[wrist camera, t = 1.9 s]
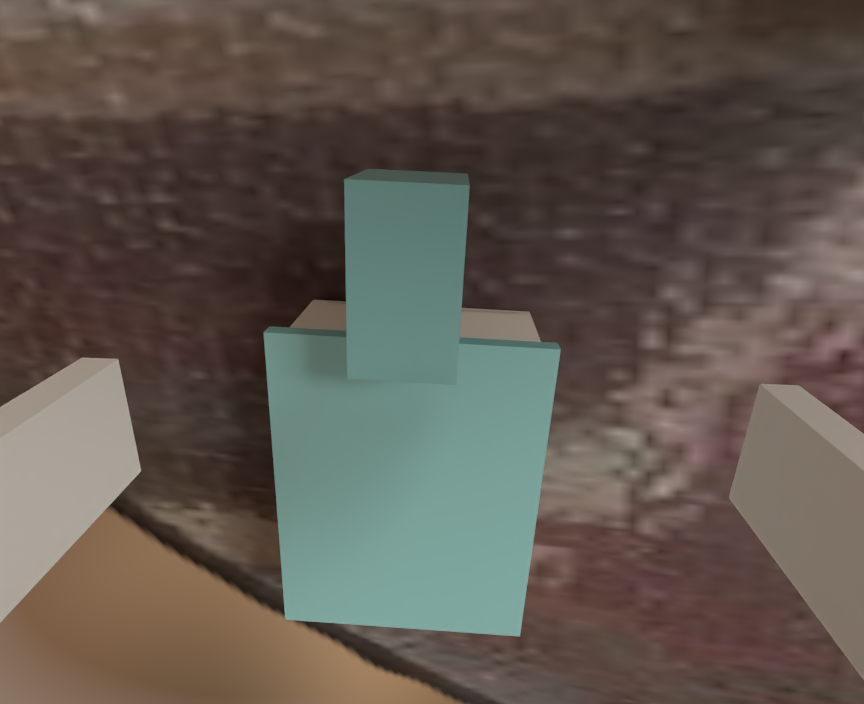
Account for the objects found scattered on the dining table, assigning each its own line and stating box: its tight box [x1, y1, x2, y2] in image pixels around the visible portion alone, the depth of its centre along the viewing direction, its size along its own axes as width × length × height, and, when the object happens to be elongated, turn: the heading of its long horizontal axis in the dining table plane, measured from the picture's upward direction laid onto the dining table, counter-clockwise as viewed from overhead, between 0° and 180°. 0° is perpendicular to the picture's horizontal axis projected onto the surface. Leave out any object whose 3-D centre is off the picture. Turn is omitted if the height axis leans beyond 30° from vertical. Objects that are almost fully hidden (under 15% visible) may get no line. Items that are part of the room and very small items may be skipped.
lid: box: [263, 169, 561, 636], centre depth 24 cm, size 24×13×5 cm, turn 178°
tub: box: [289, 300, 541, 342], centre depth 31 cm, size 16×12×6 cm
